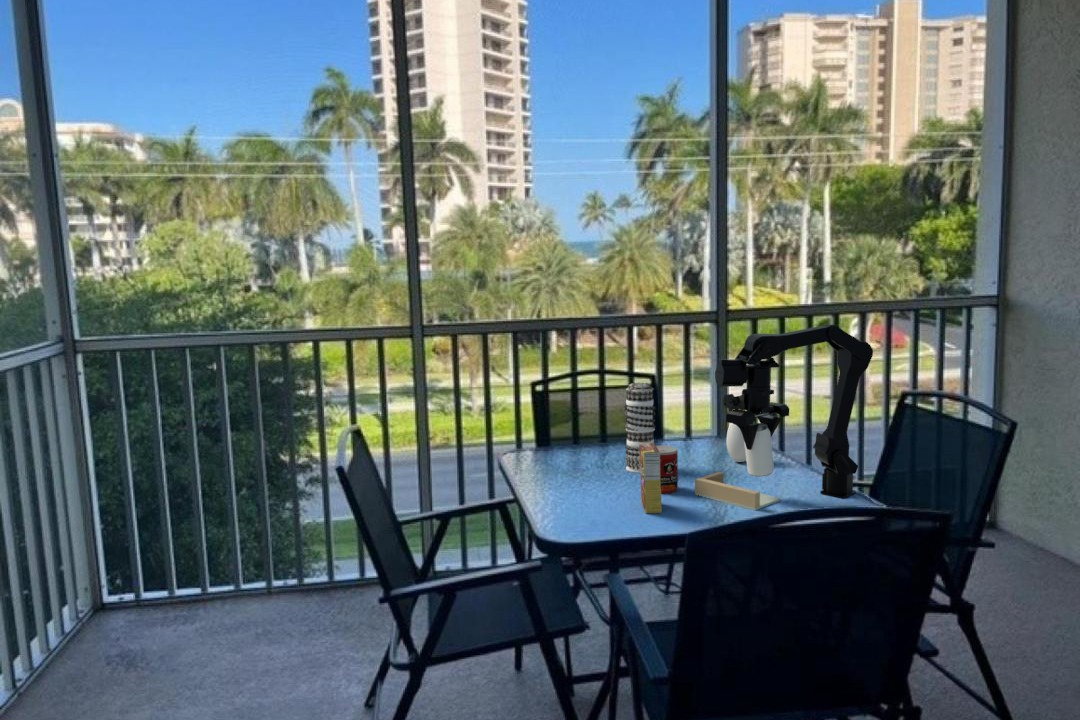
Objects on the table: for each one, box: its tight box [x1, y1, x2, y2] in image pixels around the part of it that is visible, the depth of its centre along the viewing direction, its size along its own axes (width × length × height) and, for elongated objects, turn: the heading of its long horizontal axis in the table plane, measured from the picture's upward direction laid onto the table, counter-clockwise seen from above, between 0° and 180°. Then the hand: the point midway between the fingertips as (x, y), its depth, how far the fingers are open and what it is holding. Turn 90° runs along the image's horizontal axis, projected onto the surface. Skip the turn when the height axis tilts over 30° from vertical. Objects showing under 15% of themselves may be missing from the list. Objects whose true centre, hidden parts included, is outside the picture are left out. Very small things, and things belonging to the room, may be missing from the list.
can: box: [744, 422, 775, 477], centre depth 196 cm, size 6×6×12 cm
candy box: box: [639, 442, 662, 514], centre depth 192 cm, size 9×4×15 cm, turn 0°
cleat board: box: [694, 471, 782, 511], centre depth 199 cm, size 18×11×4 cm, turn 41°
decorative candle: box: [623, 382, 657, 474], centre depth 227 cm, size 9×9×25 cm
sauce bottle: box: [726, 409, 747, 463], centre depth 232 cm, size 8×8×18 cm
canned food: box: [656, 444, 679, 494], centre depth 207 cm, size 8×8×11 cm
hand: (757, 447), depth 196 cm, fingers closed on can, 6 cm apart
